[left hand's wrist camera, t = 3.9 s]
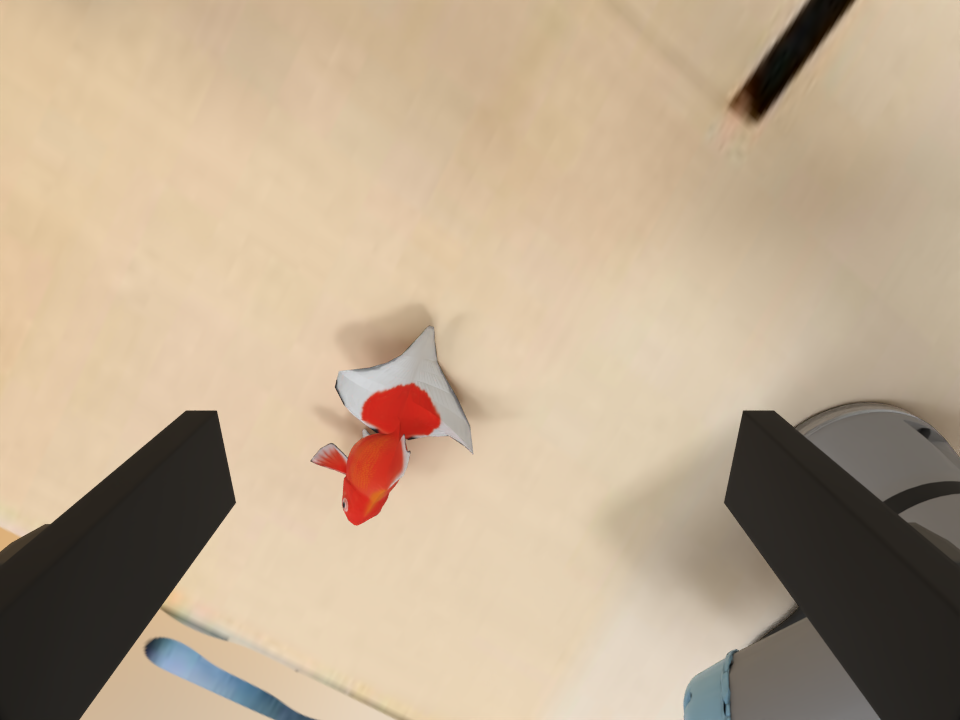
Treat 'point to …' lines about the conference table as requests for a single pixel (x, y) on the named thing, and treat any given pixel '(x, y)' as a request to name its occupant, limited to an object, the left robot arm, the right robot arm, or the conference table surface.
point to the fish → (392, 423)
